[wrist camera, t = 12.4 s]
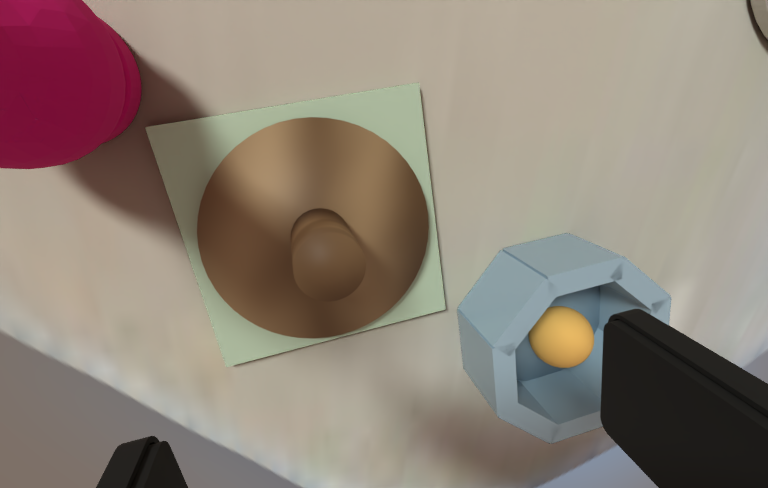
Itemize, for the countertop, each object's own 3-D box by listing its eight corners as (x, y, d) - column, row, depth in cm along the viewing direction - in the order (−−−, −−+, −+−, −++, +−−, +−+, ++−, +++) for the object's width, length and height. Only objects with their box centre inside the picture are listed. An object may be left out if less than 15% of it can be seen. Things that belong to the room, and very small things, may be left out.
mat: (415, 83, 23) (418, 82, 22) (442, 305, 28) (445, 309, 27) (148, 126, 21) (144, 127, 20) (227, 361, 25) (226, 367, 25)
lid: (410, 99, 23) (450, 95, 17) (435, 303, 27) (473, 352, 21) (167, 139, 21) (126, 149, 15) (235, 354, 25) (222, 422, 19)
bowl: (612, 221, 29) (676, 242, 24) (608, 365, 33) (661, 406, 28) (451, 261, 27) (487, 292, 22) (467, 408, 31) (500, 460, 26)
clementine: (567, 290, 29) (609, 316, 25) (567, 338, 30) (607, 370, 27) (515, 304, 28) (551, 333, 25) (518, 353, 30) (552, 388, 26)
